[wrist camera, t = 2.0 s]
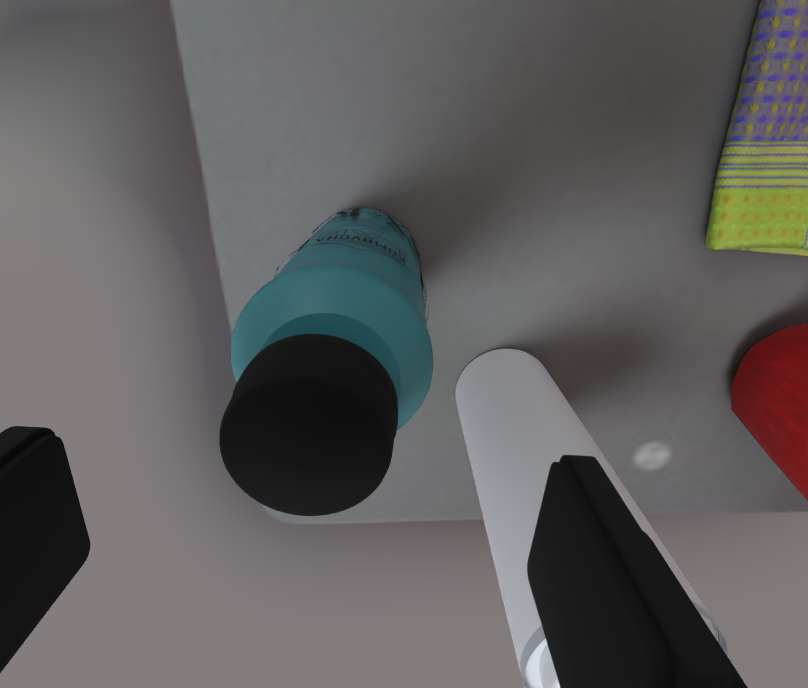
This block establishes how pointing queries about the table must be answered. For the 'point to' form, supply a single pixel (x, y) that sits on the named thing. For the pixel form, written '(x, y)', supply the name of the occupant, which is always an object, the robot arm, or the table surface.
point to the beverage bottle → (328, 368)
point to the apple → (777, 399)
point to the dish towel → (767, 141)
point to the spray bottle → (528, 483)
